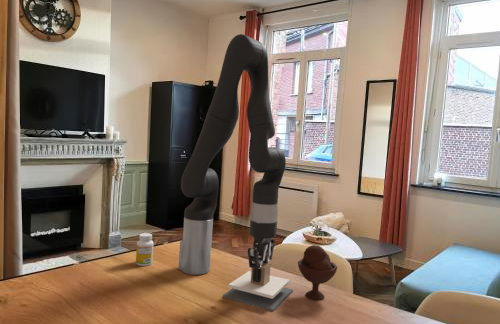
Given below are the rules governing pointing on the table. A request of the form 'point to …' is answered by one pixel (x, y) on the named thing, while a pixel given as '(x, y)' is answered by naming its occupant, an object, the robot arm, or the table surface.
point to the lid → (260, 283)
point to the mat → (258, 298)
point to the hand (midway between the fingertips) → (259, 278)
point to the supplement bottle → (144, 250)
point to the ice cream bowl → (316, 270)
